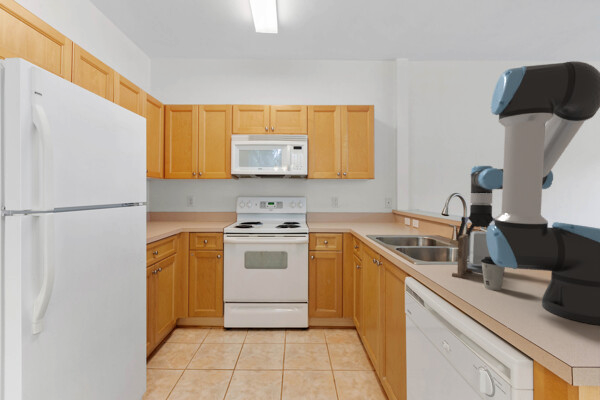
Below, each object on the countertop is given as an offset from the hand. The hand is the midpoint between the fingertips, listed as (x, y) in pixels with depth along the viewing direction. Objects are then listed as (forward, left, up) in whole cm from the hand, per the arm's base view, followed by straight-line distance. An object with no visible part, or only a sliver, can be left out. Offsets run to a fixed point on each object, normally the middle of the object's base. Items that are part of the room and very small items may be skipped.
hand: (479, 258), depth 119 cm
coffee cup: (-24, -7, -5) cm, 25 cm away
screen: (-12, +4, -5) cm, 13 cm away
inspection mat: (0, 0, -5) cm, 5 cm away
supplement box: (0, 0, -2) cm, 2 cm away
